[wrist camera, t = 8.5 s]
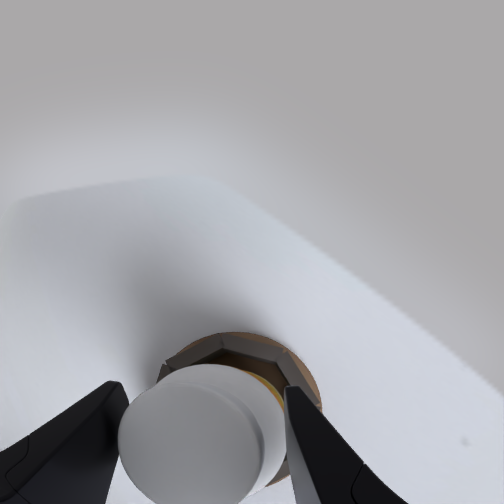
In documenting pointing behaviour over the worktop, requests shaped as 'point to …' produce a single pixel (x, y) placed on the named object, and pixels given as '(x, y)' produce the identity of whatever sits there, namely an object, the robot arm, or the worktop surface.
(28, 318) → the worktop surface
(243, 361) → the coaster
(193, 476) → the supplement bottle
